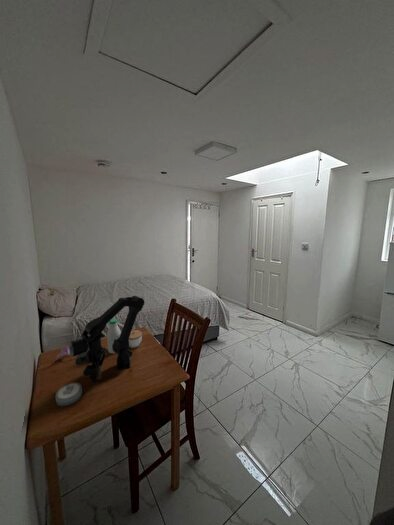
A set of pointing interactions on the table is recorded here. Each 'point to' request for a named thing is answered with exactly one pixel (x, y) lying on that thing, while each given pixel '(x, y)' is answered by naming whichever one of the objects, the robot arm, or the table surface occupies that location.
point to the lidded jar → (135, 338)
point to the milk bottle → (112, 334)
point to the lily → (64, 352)
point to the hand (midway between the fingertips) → (96, 375)
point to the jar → (68, 394)
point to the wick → (99, 374)
